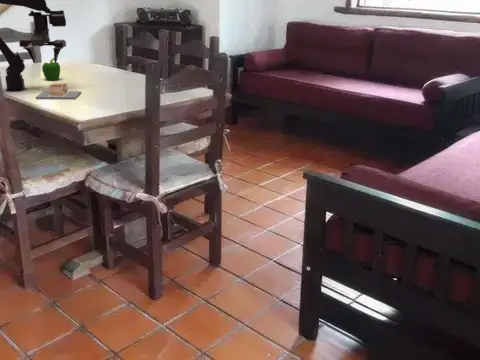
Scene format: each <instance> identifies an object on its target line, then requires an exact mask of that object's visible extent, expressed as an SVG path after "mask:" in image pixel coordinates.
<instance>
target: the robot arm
mask: <svg viewBox="0 0 480 360" xmlns="http://www.w3.org/2000/svg"><path fill="white" fill-rule="evenodd" d="M0 4H1V5H7V6H8V5H9V6H15V7H17V6H18V7H24V8H27V9H31V10H30V12H29V13H28V15H27V16H28V17H32V19H33V26H34V27H33V35H32V36H31V38H23V39H20V40H19V42H18V43H19V47H20V48H23V50H26V51H27V52H28V54H29V57H30V58H31V60H32V63H33V64H35V63H36V53H35V47H43V46H48V47H49V46H53V47H54V48H52V50H53V58H54V60H53V63H55V64H56V62H57V61H58V58H59V55H60V52H61V50H62V49H64V48H65V47H67V41H66V40H65V39H55V40H51V38H50V29H49V25H51V27H52V28H53V27H60V28H61V27H63V28H64V27H66V26H67V19H66V16H65V11H64V10H51V8H49V7H48V5H47V1H46V0H0ZM42 12H43V13H44V14H43V13H42ZM0 52H1V53H2V55H3V56H4V58H5V60H6V62H7V64H8V67H6V69H5V73H6V75H5V84H6V89H5V91H7V92H10V91H11V92H13V91H14V92H17V91H18V92H20V91H23V90H24V89H26V87H25V78H23V74H22V73H23V72H24V71H25V68H26V66H25V65H26V64H25V60H24V59H23V57H21V56H20V54H19V52H18V51H16V52H13V50H12V49H11V48H10V47H9V46H8V44H7V43H6V42H5V40H3V38H2V36H0ZM57 63H58V62H57Z"/></svg>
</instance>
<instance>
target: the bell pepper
mask: <svg viewBox="0 0 480 360" xmlns="http://www.w3.org/2000/svg"><path fill="white" fill-rule="evenodd" d="M49 61H50V62H44V63H42V66H41V68H42V73H43V76H44V78H45V79H46V80H48V81H56V80H59V79H60V74H61V65H60V64H59V62H56V64H55V62H54V57H53V58H51V59H50V60H49Z"/></svg>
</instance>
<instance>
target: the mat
mask: <svg viewBox="0 0 480 360" xmlns="http://www.w3.org/2000/svg"><path fill="white" fill-rule="evenodd" d="M81 94H82V91H81V90H80V91H79V90H75V91H73V90H72V91H70V90H67V93H65V94H64V95H63V96H50V90H44V91H42V92H41V93H39V94H38V95H36V96H35V99H36V100H77V98H78V97H79V96H81Z"/></svg>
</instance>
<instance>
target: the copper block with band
mask: <svg viewBox="0 0 480 360" xmlns="http://www.w3.org/2000/svg"><path fill="white" fill-rule="evenodd" d="M67 83H68V82H65V81H64V82H63V81H62V82H57V81H55V82H53V83H52V84H50V85H49V86H48V88H49V90H48V91H50V96H63V95H64V94H65V93H67V91H68V84H67Z"/></svg>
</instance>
